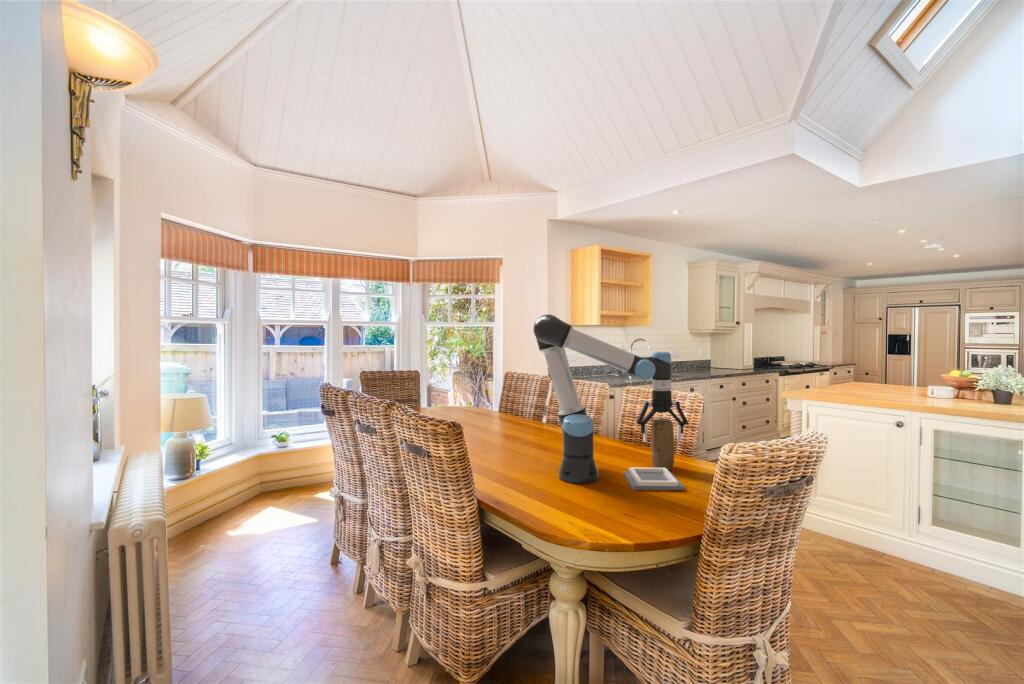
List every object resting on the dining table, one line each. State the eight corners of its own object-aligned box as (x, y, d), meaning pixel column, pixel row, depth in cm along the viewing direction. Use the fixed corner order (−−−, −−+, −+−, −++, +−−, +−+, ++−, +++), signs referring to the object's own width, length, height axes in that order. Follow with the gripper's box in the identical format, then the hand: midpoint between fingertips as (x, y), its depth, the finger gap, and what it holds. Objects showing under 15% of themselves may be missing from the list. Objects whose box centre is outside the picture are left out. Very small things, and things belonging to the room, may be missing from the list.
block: (675, 472, 187) (675, 422, 186) (656, 472, 187) (656, 422, 186) (667, 464, 197) (667, 417, 197) (649, 464, 198) (649, 417, 197)
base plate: (632, 490, 166) (632, 482, 166) (623, 474, 184) (623, 467, 184) (684, 491, 165) (684, 482, 165) (670, 474, 183) (670, 467, 183)
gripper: (632, 391, 188) (632, 443, 189) (696, 390, 187) (696, 443, 187) (629, 388, 196) (629, 439, 196) (690, 388, 194) (690, 439, 195)
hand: (662, 441), depth 192 cm, fingers open, 13 cm apart
